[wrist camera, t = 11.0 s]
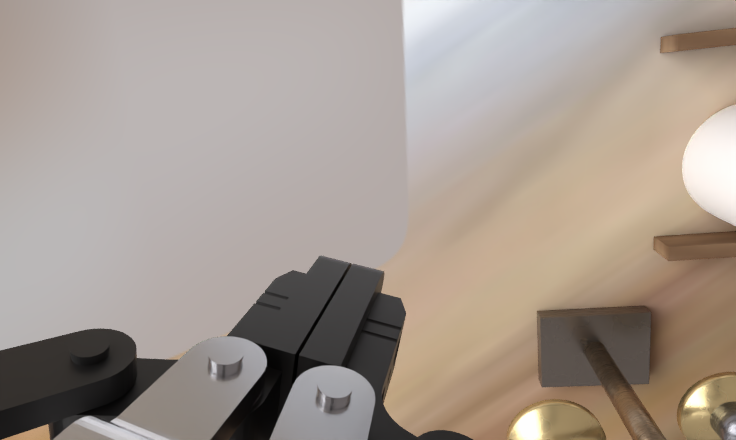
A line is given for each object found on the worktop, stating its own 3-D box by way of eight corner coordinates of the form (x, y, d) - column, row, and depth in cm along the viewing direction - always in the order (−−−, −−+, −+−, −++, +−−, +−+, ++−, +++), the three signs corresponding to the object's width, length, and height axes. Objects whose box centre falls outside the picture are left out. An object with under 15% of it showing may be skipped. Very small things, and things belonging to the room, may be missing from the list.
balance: (483, 313, 42) (521, 469, 25) (702, 302, 39) (899, 464, 23) (487, 380, 43) (525, 568, 27) (697, 373, 41) (879, 572, 25)
